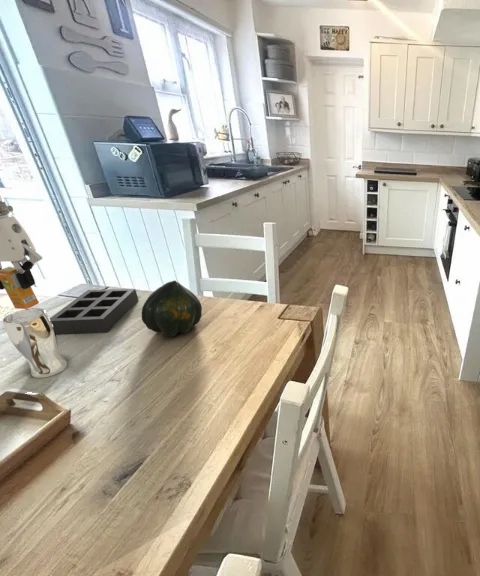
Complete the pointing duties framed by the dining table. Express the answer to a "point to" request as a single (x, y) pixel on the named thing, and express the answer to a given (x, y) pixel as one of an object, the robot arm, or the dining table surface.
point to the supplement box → (17, 289)
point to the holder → (94, 311)
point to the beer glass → (35, 341)
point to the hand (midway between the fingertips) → (17, 286)
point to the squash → (171, 309)
